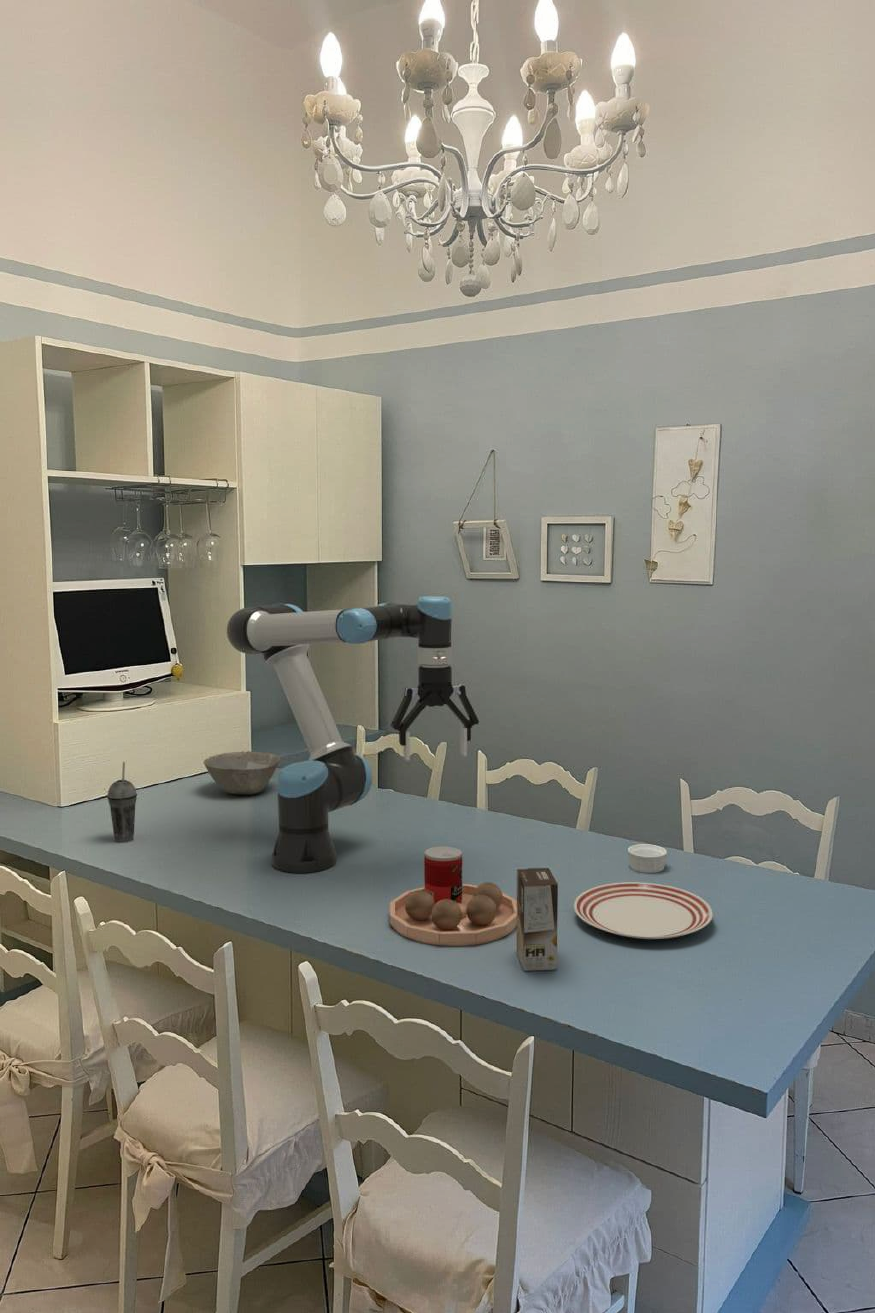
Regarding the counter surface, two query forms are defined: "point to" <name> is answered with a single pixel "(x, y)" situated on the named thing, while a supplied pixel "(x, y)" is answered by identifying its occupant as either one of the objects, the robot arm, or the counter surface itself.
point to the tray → (463, 932)
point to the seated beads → (455, 907)
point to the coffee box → (537, 919)
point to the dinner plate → (643, 910)
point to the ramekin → (647, 858)
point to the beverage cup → (122, 808)
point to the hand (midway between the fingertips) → (435, 757)
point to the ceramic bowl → (242, 771)
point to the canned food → (443, 873)
